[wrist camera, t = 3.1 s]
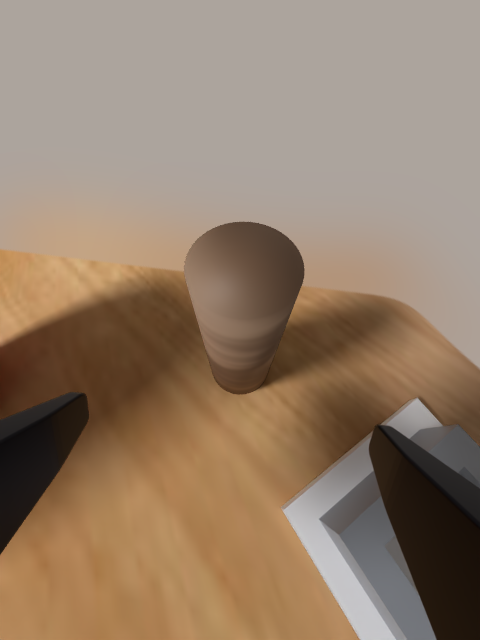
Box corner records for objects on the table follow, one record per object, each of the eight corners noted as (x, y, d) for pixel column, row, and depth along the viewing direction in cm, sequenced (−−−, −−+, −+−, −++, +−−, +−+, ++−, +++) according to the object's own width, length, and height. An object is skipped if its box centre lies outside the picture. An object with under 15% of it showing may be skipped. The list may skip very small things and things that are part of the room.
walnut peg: (231, 406, 20) (225, 342, 9) (201, 357, 21) (163, 251, 10) (279, 373, 21) (329, 280, 10) (247, 330, 22) (258, 207, 11)
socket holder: (435, 766, 13) (529, 913, 9) (280, 507, 17) (294, 523, 13) (570, 578, 16) (686, 621, 12) (409, 400, 20) (452, 386, 16)
